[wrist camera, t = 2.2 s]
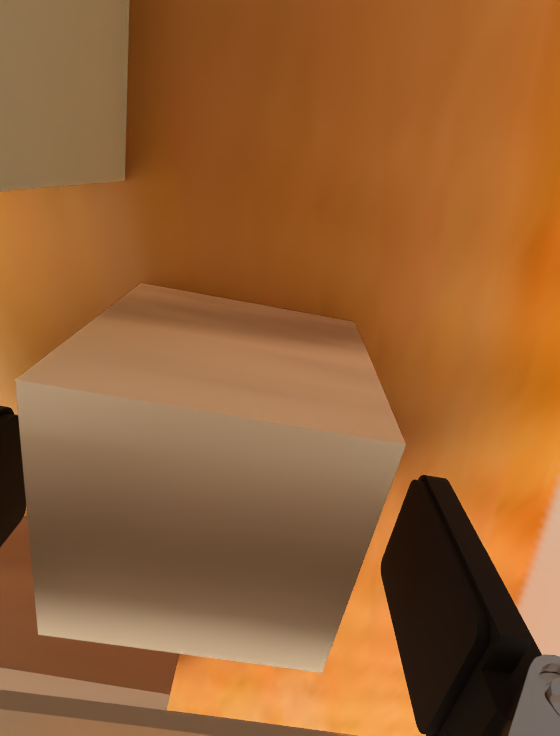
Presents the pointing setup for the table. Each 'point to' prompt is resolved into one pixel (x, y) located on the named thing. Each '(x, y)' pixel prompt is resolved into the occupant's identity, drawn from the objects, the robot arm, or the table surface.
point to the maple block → (204, 477)
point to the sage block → (63, 92)
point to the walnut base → (68, 648)
